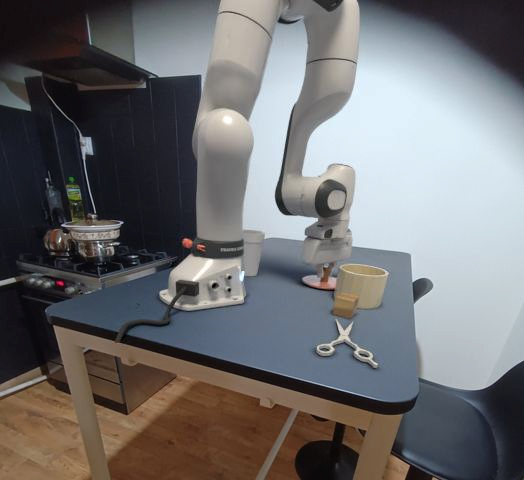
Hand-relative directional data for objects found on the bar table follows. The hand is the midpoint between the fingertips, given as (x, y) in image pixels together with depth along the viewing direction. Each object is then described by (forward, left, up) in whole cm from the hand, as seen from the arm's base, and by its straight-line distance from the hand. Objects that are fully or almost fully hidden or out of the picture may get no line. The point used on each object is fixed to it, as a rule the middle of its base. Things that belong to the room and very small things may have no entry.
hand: (324, 276), depth 98 cm
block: (-16, -19, -2) cm, 25 cm away
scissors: (-29, -27, -3) cm, 40 cm away
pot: (-4, -15, -2) cm, 16 cm away
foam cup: (-13, +21, -3) cm, 25 cm away
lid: (0, 0, -2) cm, 2 cm away
